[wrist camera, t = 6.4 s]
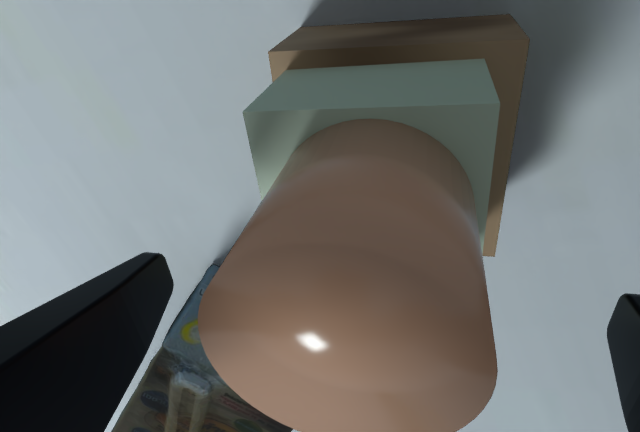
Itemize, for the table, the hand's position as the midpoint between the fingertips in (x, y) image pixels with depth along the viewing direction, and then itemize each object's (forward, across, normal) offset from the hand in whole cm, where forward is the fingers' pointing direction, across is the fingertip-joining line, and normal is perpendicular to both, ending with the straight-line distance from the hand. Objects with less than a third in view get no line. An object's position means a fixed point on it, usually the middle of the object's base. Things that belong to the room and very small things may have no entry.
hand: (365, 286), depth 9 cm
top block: (+6, 0, 0) cm, 6 cm away
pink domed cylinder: (+2, 0, 0) cm, 3 cm away
